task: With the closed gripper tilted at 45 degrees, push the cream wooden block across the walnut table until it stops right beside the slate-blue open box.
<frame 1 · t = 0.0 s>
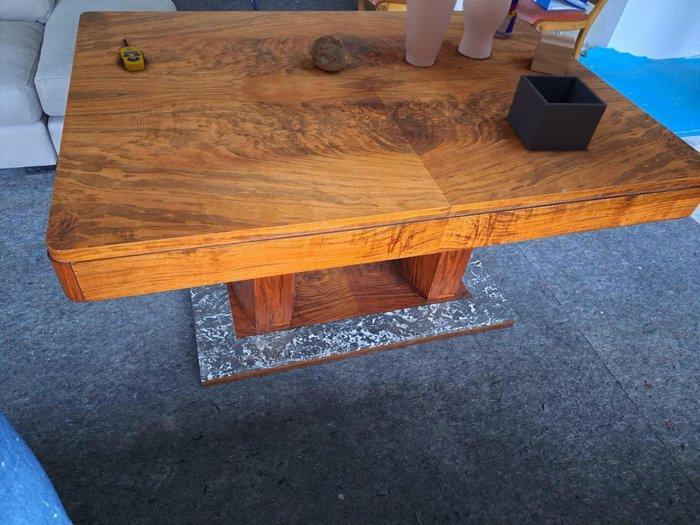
seashell: (324, 67, 117), on the table
block: (547, 67, 128), on the table
beverage can: (500, 36, 142), on the table
yellow walkie talkie: (130, 57, 112), on the table
box: (545, 133, 104), on the table
cup: (473, 52, 131), on the table
cup 2: (419, 61, 124), on the table
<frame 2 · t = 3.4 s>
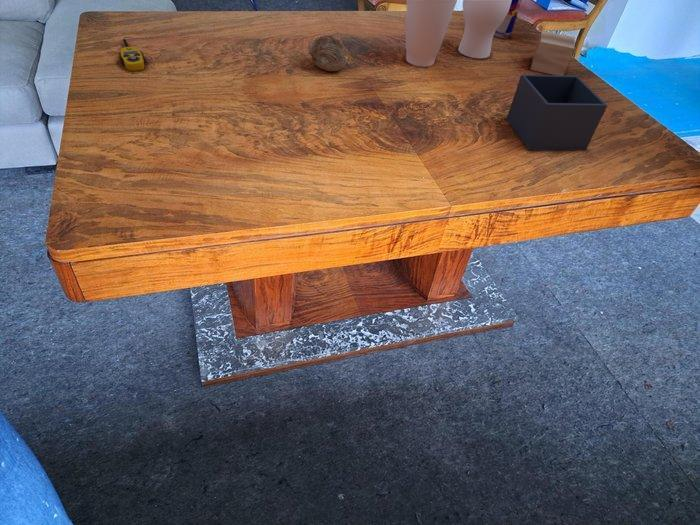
nothing on the table moved.
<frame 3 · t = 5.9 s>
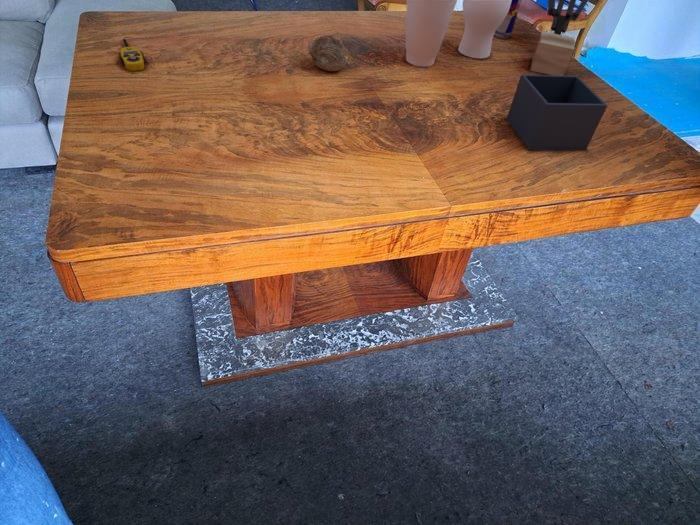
hand: (554, 42, 128), 4 cm above the table, tool tilted 45°, fingers closed
block: (547, 68, 128), on the table, touching gripper
everything else where it was.
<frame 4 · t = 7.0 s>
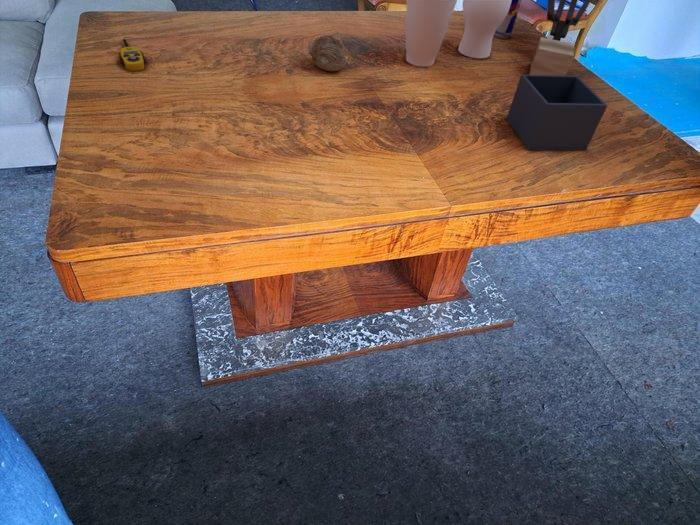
hand: (553, 48, 125), 5 cm above the table, tool tilted 45°, fingers closed
block: (546, 74, 125), on the table, touching gripper
everything else where it was.
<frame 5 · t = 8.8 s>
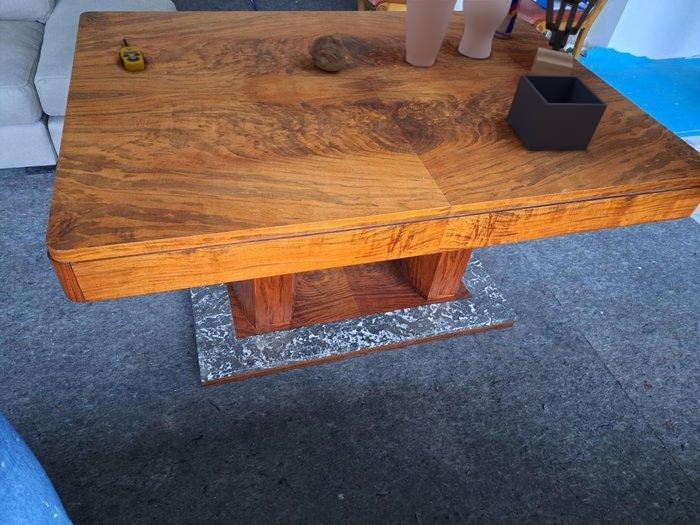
hand: (552, 59, 120), 5 cm above the table, tool tilted 45°, fingers closed
block: (544, 86, 120), on the table, touching gripper
everything else where it was.
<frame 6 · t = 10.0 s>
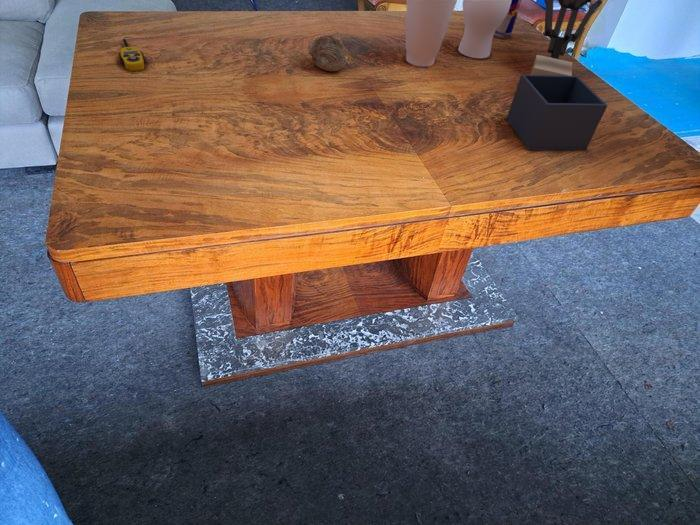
hand: (551, 66, 117), 5 cm above the table, tool tilted 45°, fingers closed
block: (542, 94, 117), on the table, touching gripper
everything else where it was.
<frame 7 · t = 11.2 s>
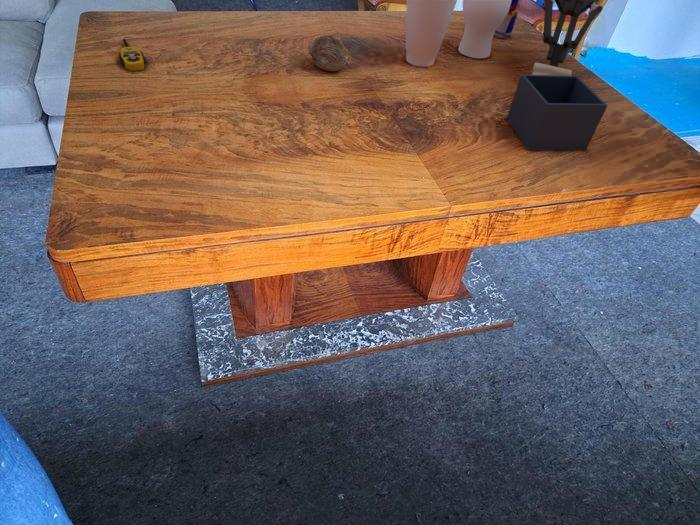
hand: (550, 74, 114), 5 cm above the table, tool tilted 45°, fingers closed
block: (541, 103, 113), on the table
everything else where it was.
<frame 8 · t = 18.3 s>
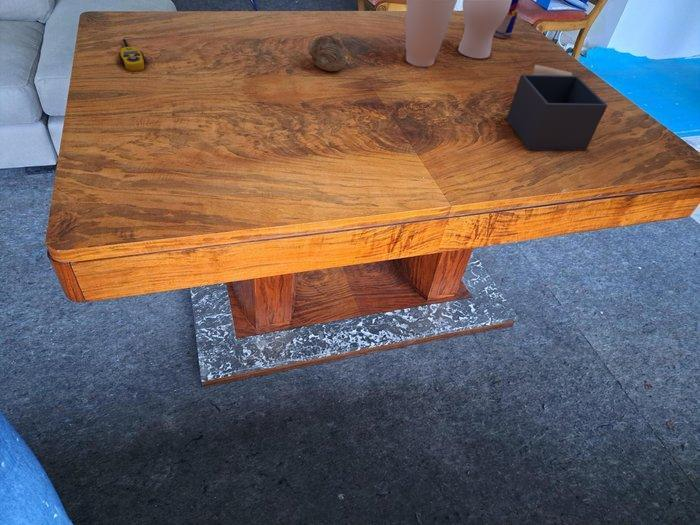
block: (540, 105, 112), on the table
everything else where it was.
at the end: block 12.5 cm from the box (horizontally); block moved 22.9 cm from its start; block tilted 0° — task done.
